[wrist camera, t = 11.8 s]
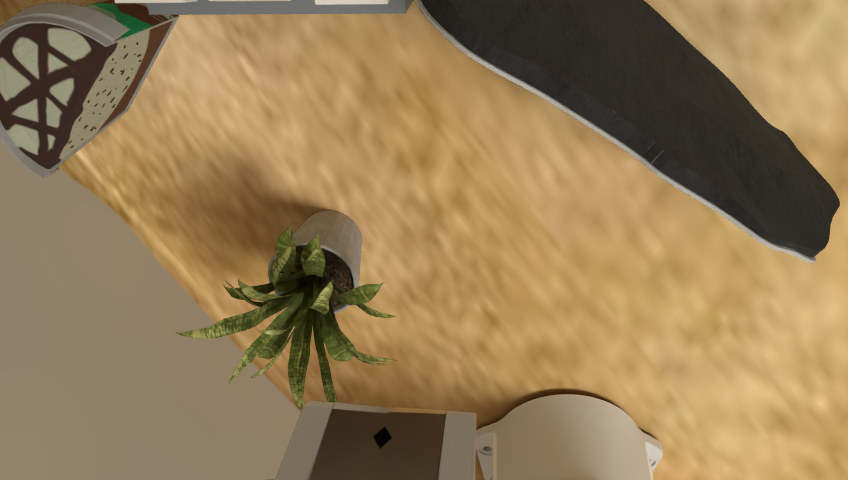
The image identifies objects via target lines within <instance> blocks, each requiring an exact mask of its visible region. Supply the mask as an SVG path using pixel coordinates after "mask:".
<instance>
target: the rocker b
mask: <svg viewBox="0 0 848 480" xmlns="http://www.w3.org/2000/svg"><path fill="white" fill-rule="evenodd" d="M209 1H291V0H209Z"/></svg>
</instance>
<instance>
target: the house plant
mask: <svg viewBox="0 0 848 480" xmlns="http://www.w3.org/2000/svg"><path fill="white" fill-rule="evenodd" d="M291 226H292V223H291V225H290V226H289V228H288V229H287V230H286V231H285V232H284V233H283V234H282V235H281V236H280V237H279V239H278V241H277V244H276V253H275V254H274V256H273V257H272V259H271V261H270V263H269V268H268V276H269V280H270V283H269V284H264V285H259V286H251V287H250V286H248V285H246V284H244V283H242V282H241V281H239V279H238V284H239V286H240V288H234V287H233V286H231V285H230V284H229V283H228V282H227V283H228V284H229V285H230V286H231V287H232V288H233V289H232V288H227V287H225V286H224V285H223V286H224V287H225V289H226V290H227V291H228V293H229V294H230V295H231V296H232V297H234V298H236V299H241V300H245V301H247V302H249V303H250V304H252V305H255V306H258V307H260V308H257V309H255V310H252V311H250V312H247V313H244V314H241V315H237V316H233V317H229V318H225V319H223V320H222V321H220V322H218V323H216V324H214V325H212V326H210V327H208V328H204V329H197V330H190V331H187V332H183V333H178V334H180V335H182V336H186V337H192V338H198V339H206V338H217V337H221V336H225V335H229V334H233V333H236V332H240V331H244V330H247V329H249V328H252V327H255V326H256V325H258V324H259V323H260V322H262V321H263V320H264V319H266V318H268V317H269V316H271V315H273V314H275V313H277V312H279V311H281V310H283V309H284V308H286V307H287V308H286V309H285V310H284V311H283V312H282V313H281V314H280V315H279V316H278V317H276V319H275V320H274V321H273V322H272V323H271V324H270V325H269V326H268V328H267V329H266V330H263V331H259V330H258V331H259V332H261V333H262V334H261V335H260V336H259V337H258V338H257V339H256V340H255V341H254V342H253V343H252V345H251V346H250V347H249V348H248V349H247V351H246V352H245V354H244V355H243V357H242V358H241V360H240V362H239V363H238V365H237V367H236V369H235V370H234V372H233V375H232V377H231V379H230V382H231V381H232V380H234V379H235V378H236V377H237V376H238V375H239V373H240V372H241V371H242V370H243V369H244V368H245V367H246V366H248V365H249V364H250V363H251V362H252V361H253V359H254V358H255V357H256V355H257V354H258V353H259V355H258V357H260V358H266V359H271V358H273V357H274V358H273V359H272V361H271V362H270V363H269V364H268V365H266V366H265V367H264V368H263V369H262V370H260V371H259V372H258V373H256V374H255V375H254V376H252V377H255V376H258V375H260V374H261V373H263V372H264V371H266V370H267V369H268V368H269V367H270V366H271V365H272V364H273V363H274V361H275V360H276V359H277V358H278V356H279V355H280V353H281V352H282V351H283V349H284V348H285V346H286V345H287V343H288V342H289V340H290V338H291V336H292V334H293V337H292V341H291V349H290V356H289V362H288V376H289V383H290V388H291V392H292V395H293V398H294V400H295V401H296V404H297V406H298V408H299V409H300V406H301V408H302V409H303V407H304V401H303V394H304V383H305V375H306V370H307V366H308V361H309V356H310V341H311V333H312V326H313V331H314V339H315V345H316V350H317V354H318V358H319V364H320V370H321V376H322V382H323V387H324V391H325V394H326V397H327V400H328V402H333V403H338V401H337V398H336V395H335V392H334V389H333V383H332V378H331V372H330V367H329V363H328V360H327V357H326V353H325V348H324V343H325V345H326V348H327V350H328V353H329V354H330V356H331V357H332V358H333V359H335V360H338V361H347V360H350V359H352V357H353V356H354V357H356V358H357V359H358V360H360V361H362V362H364V363H368V364H373V365H385V364H380V363H375V362H371V361H376V362H388V361H394V360H392V359H386V358H380V357H374V356H369V355H366V354H362V353H360V352H357V351H356V349H355V347H354V345H353V344H352V343H351V342H350V340H349V339H348V338H347V337H346V336H345V335H344V334H343V333H342V331H341V330H340V328H339V326H338V323H337V321H336V318H335V314H336V313H338V312H341V311H343V310H345V309H346V308H347V307H348V306H350V305H357V306H358V307H359V308H361V309H362V310H363V311H364V312H366V313H367V314H369V315H371V316H375V317H383V318H391V317H395V316H393V315H388V314H384V313H381V312H377V311H375V310H373V309H371V308H369V307H367V306H366V305H364V304H363V303H366V302H369V301H370V300H371V299H372V298H373V297H374V296H375V295H376V293H377V292H378V290H379V289H380V287H381V286H382V284H383V283H384V282H383V283H381V284H368V285H363V286H359V274H360V260H361V246H362V237H361V232H360V230H359V228H358V226H357V225H356V224H355V223H354V221H353V220H351V219H350V218H349V217H347V216H346V215H344V214H342V213H339V212H335V211H320V212H316V213H314V214H313V215H311V216H310V217H309V218H308V219H307V220H306V221H305V222H304V223H303V224H302V225H301V226H300V227H299V228H298V230H297V231H296V232H295V233H294V234H293V235H292V230H291ZM273 290H274V292H275V293H276V294H277V295H275V294H268V293H270V292H272V291H273ZM249 299H255V300H260V301H264V302H255V301H252V300H249ZM265 300H267V301H265ZM294 326H296V327H295V328H294V330H293V332H292V333H291V335H290V336H289V334H290V332H291V330H292V328H293V327H294ZM288 336H289V338H288ZM287 338H288V339H287ZM323 342H324V343H323ZM395 361H396V360H395ZM230 382H229V383H230Z"/></svg>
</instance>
